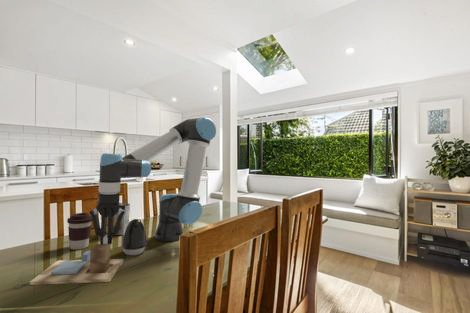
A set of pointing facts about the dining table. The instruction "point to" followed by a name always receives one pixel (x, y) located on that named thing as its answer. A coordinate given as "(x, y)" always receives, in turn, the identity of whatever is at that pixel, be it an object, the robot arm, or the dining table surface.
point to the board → (80, 277)
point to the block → (100, 258)
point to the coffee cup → (79, 230)
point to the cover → (72, 265)
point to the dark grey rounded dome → (134, 238)
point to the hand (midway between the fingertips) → (105, 253)
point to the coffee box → (124, 220)
